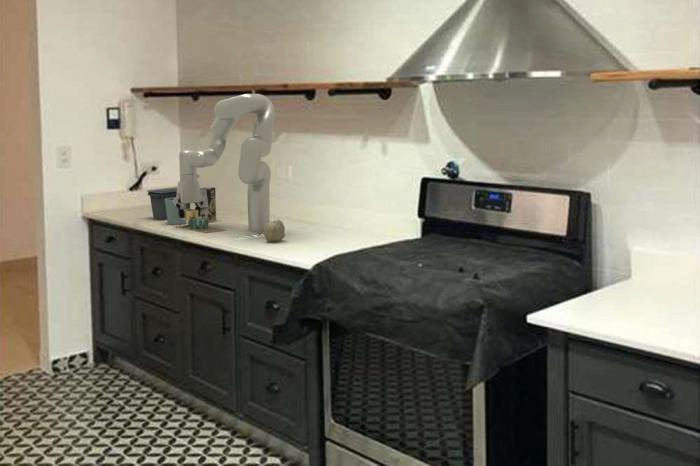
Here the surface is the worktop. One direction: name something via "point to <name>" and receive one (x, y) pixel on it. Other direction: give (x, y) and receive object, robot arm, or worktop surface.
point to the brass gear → (190, 214)
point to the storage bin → (162, 201)
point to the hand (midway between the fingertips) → (189, 216)
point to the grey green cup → (173, 213)
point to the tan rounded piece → (274, 231)
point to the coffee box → (208, 204)
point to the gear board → (200, 226)
